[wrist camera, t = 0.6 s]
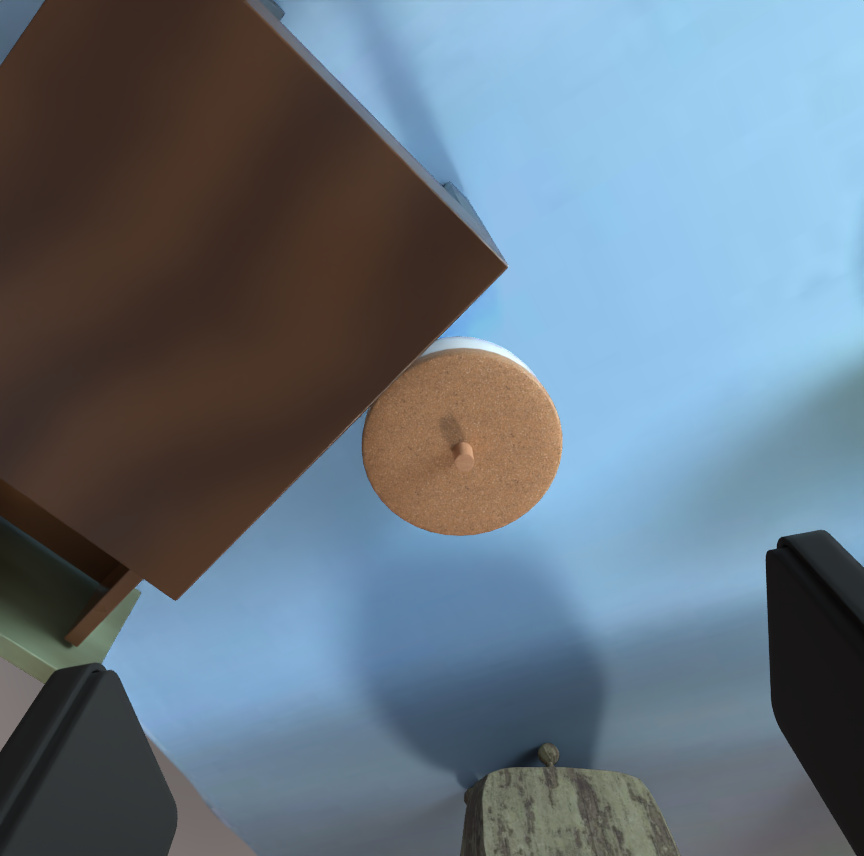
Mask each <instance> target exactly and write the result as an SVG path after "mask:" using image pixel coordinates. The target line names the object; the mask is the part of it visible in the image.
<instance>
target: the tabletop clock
mask: <svg viewBox="0 0 864 856" xmlns="http://www.w3.org/2000/svg"><path fill="white" fill-rule="evenodd" d="M538 757H539V759H540V761H541V762H542V763H543V764H545V765H546V767H514V768H505V769H500V770H497V771H494V772H492V773H489V774H487V775H486V776H485V777H483V778H482V779H480V780H479V781H478V782H476V783H475V784H474V786H473V787H472V788H468V790H467V791H466V792H465V794H464V802H465V803H466V805H467V808H466V814H465V822H464V830H463V837H462V845H461V853H460V856H681V855H680V853H679V850H678V848H677V846H676V843H675V841H674V839H673V837H672V834H671V832H670V830H669V828H668V825H667V823H666V821H665V819H664V817H663V815H662V813H661V811H660V809H659V807H658V805H657V803H656V801H655V800H654V798H653V796H652V795H651V793H650V791H649V790H648V789H647V787H646V786H645V785H644V784H643V783H642V781H641V780H640V779H638V778H635V777H633V776H630V775H627V774H624V773H619V772H614V771H605V770H593V769H580V768H568V767H554V765H555V764H556V763H557V761H558V760H559V751H558V749H557V748H556V747H555V746H554V745H553V744H551V743H545V744H543V745H541V747H540V748H539V751H538Z"/></svg>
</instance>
